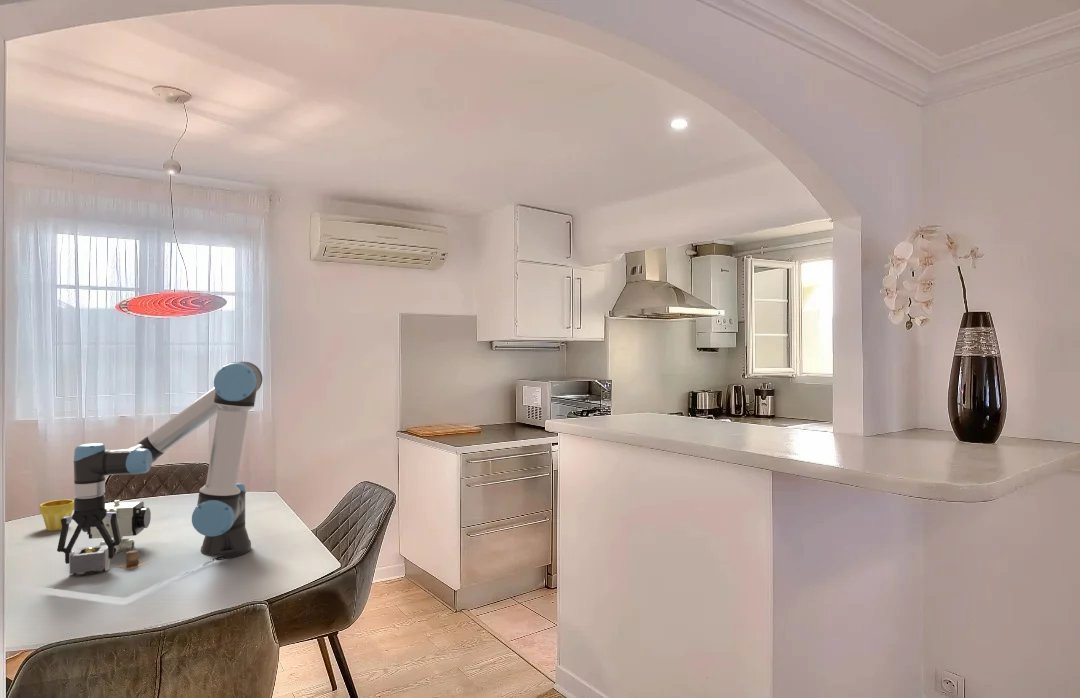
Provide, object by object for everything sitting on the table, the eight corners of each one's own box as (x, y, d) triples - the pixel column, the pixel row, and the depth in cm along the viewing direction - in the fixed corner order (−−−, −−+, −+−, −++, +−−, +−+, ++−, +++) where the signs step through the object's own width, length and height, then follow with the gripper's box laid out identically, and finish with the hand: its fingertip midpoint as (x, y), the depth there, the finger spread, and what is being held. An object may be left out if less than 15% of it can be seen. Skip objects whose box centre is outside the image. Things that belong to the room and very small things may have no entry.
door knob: (108, 574, 186) (108, 545, 186) (87, 581, 180) (87, 552, 180) (91, 572, 188) (91, 543, 188) (71, 579, 181) (70, 550, 181)
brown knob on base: (148, 567, 192) (148, 549, 192) (131, 574, 186) (131, 556, 186) (133, 565, 193) (133, 548, 193) (115, 572, 187) (115, 554, 187)
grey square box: (108, 560, 189) (108, 544, 189) (103, 569, 182) (103, 552, 182) (77, 564, 186) (77, 548, 186) (70, 573, 178) (70, 556, 178)
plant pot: (40, 534, 225) (40, 507, 225) (39, 527, 233) (39, 502, 233) (75, 528, 232) (75, 503, 232) (73, 522, 240) (73, 497, 240)
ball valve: (78, 560, 197) (78, 506, 197) (90, 552, 206) (90, 499, 205) (142, 555, 202) (142, 502, 202) (151, 547, 210) (151, 496, 210)
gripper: (133, 489, 191) (133, 562, 191) (50, 496, 182) (50, 572, 183) (128, 494, 185) (129, 570, 185) (42, 502, 176) (42, 581, 176)
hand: (90, 571), depth 184 cm, fingers closed on grey square box, 8 cm apart
